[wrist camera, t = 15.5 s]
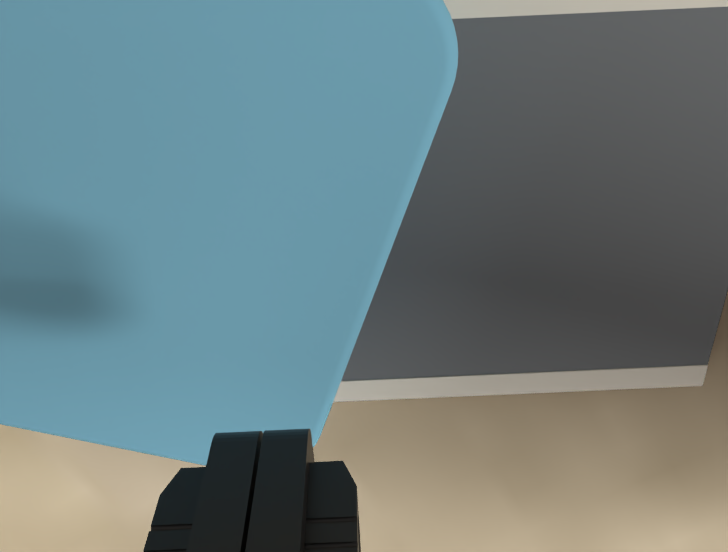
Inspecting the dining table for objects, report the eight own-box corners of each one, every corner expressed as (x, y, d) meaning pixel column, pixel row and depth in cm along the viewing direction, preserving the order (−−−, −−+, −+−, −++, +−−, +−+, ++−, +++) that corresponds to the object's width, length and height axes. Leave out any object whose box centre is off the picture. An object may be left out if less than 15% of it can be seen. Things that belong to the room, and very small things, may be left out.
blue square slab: (454, -40, 15) (-139, -247, 13) (491, -5, 11) (-343, -291, 9) (310, 373, 21) (-116, 275, 19) (301, 490, 17) (-235, 382, 15)
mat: (800, -40, 16) (816, -36, 15) (693, 372, 22) (702, 386, 22) (-245, 8, 16) (-266, 13, 15) (-60, 406, 22) (-71, 419, 22)
